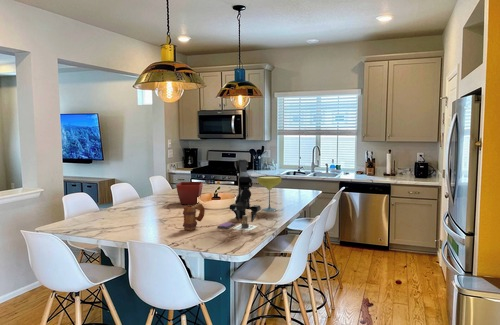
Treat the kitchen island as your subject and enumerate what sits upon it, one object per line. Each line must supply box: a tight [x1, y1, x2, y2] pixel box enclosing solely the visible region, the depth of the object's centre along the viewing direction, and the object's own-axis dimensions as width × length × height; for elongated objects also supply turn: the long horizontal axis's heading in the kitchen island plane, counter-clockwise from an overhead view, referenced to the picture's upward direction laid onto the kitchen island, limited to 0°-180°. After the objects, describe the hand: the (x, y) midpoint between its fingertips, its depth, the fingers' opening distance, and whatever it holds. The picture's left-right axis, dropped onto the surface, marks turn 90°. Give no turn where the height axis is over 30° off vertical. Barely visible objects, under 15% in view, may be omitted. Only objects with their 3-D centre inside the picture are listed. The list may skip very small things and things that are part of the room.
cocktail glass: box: [256, 175, 282, 212], centre depth 276 cm, size 18×18×25 cm
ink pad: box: [217, 222, 236, 230], centre depth 229 cm, size 10×7×1 cm
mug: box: [182, 202, 206, 231], centre depth 224 cm, size 15×8×15 cm, turn 126°
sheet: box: [231, 223, 259, 232], centre depth 226 cm, size 12×12×1 cm
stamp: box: [241, 215, 250, 228], centre depth 225 cm, size 4×4×7 cm
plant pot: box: [175, 181, 204, 205], centre depth 306 cm, size 19×19×17 cm
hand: (245, 221), depth 225 cm, fingers open, 9 cm apart
